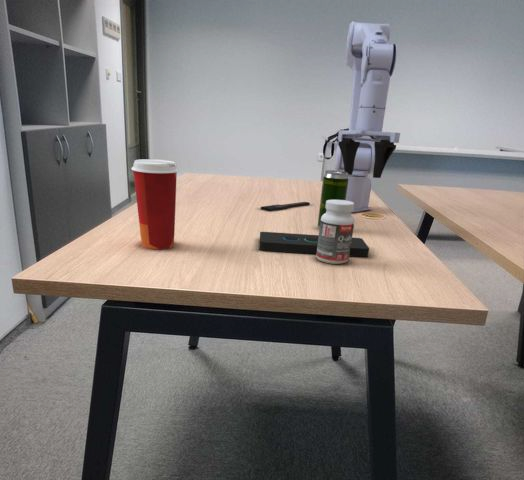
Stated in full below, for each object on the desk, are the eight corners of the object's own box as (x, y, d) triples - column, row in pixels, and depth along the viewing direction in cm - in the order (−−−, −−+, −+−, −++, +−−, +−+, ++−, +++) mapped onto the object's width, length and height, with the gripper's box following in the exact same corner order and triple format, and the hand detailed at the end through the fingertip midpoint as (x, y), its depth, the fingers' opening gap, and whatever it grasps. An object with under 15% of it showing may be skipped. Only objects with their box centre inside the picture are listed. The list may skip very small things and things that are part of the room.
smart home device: (260, 230, 92) (361, 237, 92) (259, 239, 93) (360, 245, 93) (259, 241, 84) (370, 248, 85) (259, 250, 85) (368, 257, 86)
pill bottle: (340, 266, 80) (349, 206, 75) (310, 259, 82) (317, 201, 78) (353, 259, 84) (362, 202, 79) (324, 253, 87) (331, 197, 82)
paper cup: (187, 243, 87) (186, 162, 80) (166, 253, 80) (163, 165, 74) (149, 237, 89) (146, 157, 82) (126, 246, 82) (120, 160, 76)
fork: (303, 203, 131) (303, 201, 131) (311, 205, 129) (311, 203, 129) (260, 209, 120) (260, 206, 120) (268, 211, 118) (269, 208, 118)
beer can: (346, 230, 104) (354, 173, 99) (329, 233, 101) (337, 174, 96) (328, 225, 108) (335, 169, 102) (312, 227, 105) (318, 170, 99)
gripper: (333, 107, 103) (325, 173, 108) (392, 107, 94) (380, 179, 99) (351, 110, 108) (343, 173, 113) (409, 110, 99) (397, 179, 104)
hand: (362, 176), depth 107 cm, fingers open, 7 cm apart
